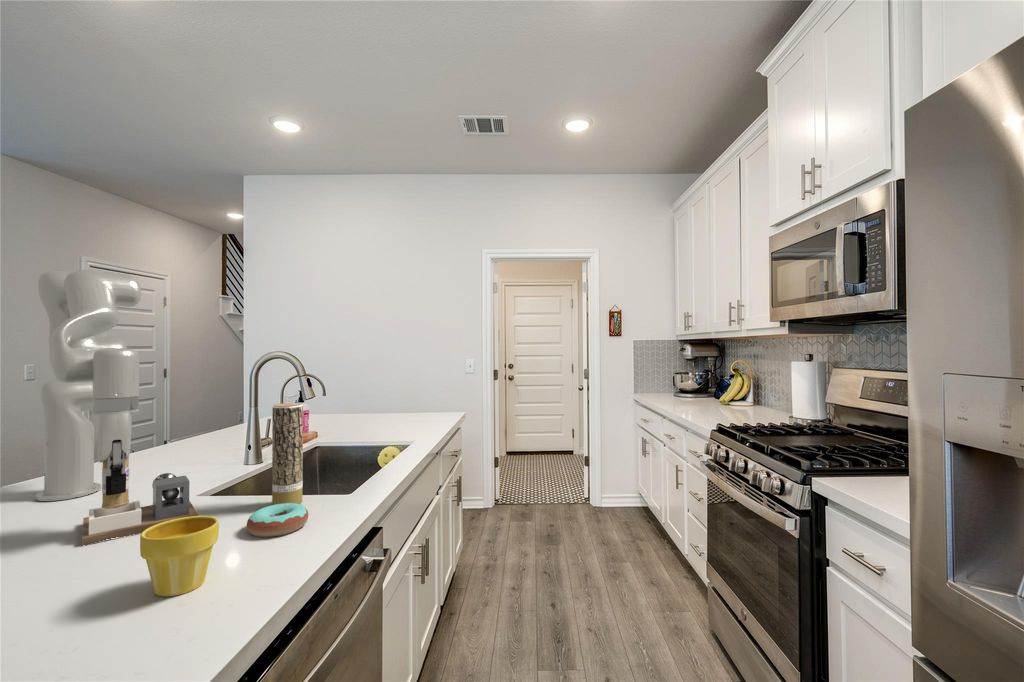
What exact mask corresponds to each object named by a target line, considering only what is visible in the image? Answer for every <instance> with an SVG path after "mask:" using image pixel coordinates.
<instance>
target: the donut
mask: <svg viewBox="0 0 1024 682" xmlns="http://www.w3.org/2000/svg"><path fill="white" fill-rule="evenodd" d="M308 519H309V512H308V509H307V508H306V506H304V505H303V504H301V503H300V504H295V503H284V504H276V505H269V506H265V507H262V508H260V509H258V510H256V511H254V512H252V514H250V516H249V517H248V519H247V521H246V529H247V530H248V532H249V533H250V535H252V536H255V537H259V538H274V537H280V536H286V535H289V534H291V533H293V532H294V533H295V532H296V531H298V530H299V529H301V528H302V527H304V526H305V525H306V524H307V522H308Z"/></svg>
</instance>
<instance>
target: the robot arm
mask: <svg viewBox="0 0 1024 682" xmlns="http://www.w3.org/2000/svg"><path fill="white" fill-rule="evenodd" d="M37 281H38V282H37V291H38V295H39V299H40V302H41V304H42V306H43V308H44V309H45V312H46V315H47V318H48V323H49V329H48V330H49V331H48V333H49V336H48V341H49V342H48V343H49V344H48V357H49V364H50V365H51V369H52V372H53V375H54V376H55V377H56V378H51V379H50V380H47V381H46V382H44V383H43V384H42V386H41V387H40V388H41V389H40V400H41V401H40V402H41V406H42V410H43V416H44V473H43V474H44V478H43V479H44V482H43V485H44V486H43V487H44V488H43V490H42V491H40V492H38V493H36V494H35V500H36V501H38V502H52V501H53V502H54V501H55V502H56V501H64V500H65V501H66V500H71V499H76V497H77V498H81V497H84V496H89V495H91V493H92V494H94V492H95V493H97V492H99V491H100V490H102V483H98V482H95V481H94V479H95V477H94V475H95V473H94V472H95V426H94V424H93V422H92V421H91V420H90V419H88V418H87V417H86V416H84V415H83V414H82V412H87V411H92V415H95V416H98V426H97V461H98V463H101V464H103V460H107V458H108V462H107V463H108V476H106V495H107V496H108V495H114V494H120V493H125V492H126V473H125V459H128V458H130V455H131V454H130V453H131V444H132V427H133V425H132V423H133V422H132V421H133V420H132V419H133V415H132V414H133V413H137V412H139V411H140V409H139V408H140V354H139V352H138V350H136V349H133V348H128V347H127V344H126V342H125V341H124V340H123V339H121V338H118V337H113V336H97V335H99V334H100V335H101V334H103V333H106V332H108V331H110V330H112V329H113V328H115V327H116V326H117V325H118V323H119V321H120V315H119V312H118V308H117V307H127V308H129V307H135V306H136V305H139V302H140V301H141V299H142V287H141V284H140V282H139V281H138V279H137V278H136V277H135V276H133V275H131V274H126V273H120V272H109V271H101V270H100V271H99V270H89V269H88V270H87V269H86V270H84V269H82V270H76V271H74V270H73V271H72V270H49V271H44V272H43V273H41V274H40V275H39V278H38V279H37ZM112 442H113V449H112ZM125 453H126V455H125ZM121 456H122V459H121ZM112 457H113V460H111V461H110V458H112ZM125 457H126V458H125ZM121 462H122V463H121ZM112 463H113V464H112ZM121 473H122V474H121ZM98 490H99V491H98ZM96 491H97V492H96ZM88 494H89V495H88Z"/></svg>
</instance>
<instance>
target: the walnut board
mask: <svg viewBox="0 0 1024 682" xmlns="http://www.w3.org/2000/svg"><path fill="white" fill-rule="evenodd" d="M140 507H141V524H139V525H135V526H130V527H125V528H120V529H116V530H111V531H106V532H101V533H96V534H92V535H89V516H85V517H83V520H82V521H83V522H82V544H81V545H82V547H84V546H83V545H85V546H88V544H90V545H92V544H91V543H94V544H96V543H95V542H99V541H103V540H106V539H111V538H116V537H122V538H125V537H124V536H126V537H130V536H129V535H131V536H134V535H133V534H135V535H139V534H138V533H140V534H141V533H142V532H143V531H144V530H146V529H148V528H150V527H152V526H154V525H157V524H159V523H162V522H166V521H170V520H174V519H178V518H184V517H191V516H199V513H198V511H197V510H196V508H195V506H194V505H193V504H192V502H191V501H190V500H189V514H187V515H182V516H177V517H172V518H168V519H163V520H158V521H155V518H154V516H153V504H149V505H146V506H140ZM99 543H100V542H99Z"/></svg>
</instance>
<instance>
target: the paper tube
mask: <svg viewBox="0 0 1024 682" xmlns="http://www.w3.org/2000/svg"><path fill="white" fill-rule="evenodd" d="M271 413H272V416H271V417H272V418H271V419H272V427H271V428H272V431H271V432H272V436H271V437H272V438H271V439H272V440H271V442H272V443H271V444H272V446H271V453H272V454H271V455H272V456H271V457H272V458H271V466H272V467H271V468H272V469H271V472H272V473H271V477H272V478H271V483H272V484H271V500H272V501H271V504H272V505H276V504H284V503H295V504H300V505H301V503H303V483H304V481H303V478H304V477H303V473H304V471H303V463H304V460H303V458H304V456H303V453H304V452H303V451H304V449H303V447H304V446H303V445H304V444H303V443H304V439H303V438H304V434H303V432H304V405H303V403H302V402H287V403H286V402H284V403H275V404H273V405H272V412H271Z"/></svg>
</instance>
